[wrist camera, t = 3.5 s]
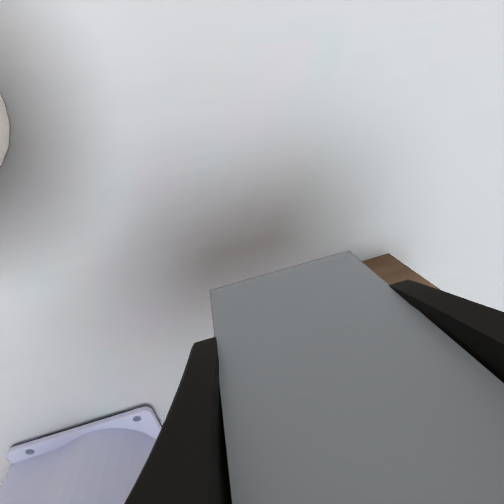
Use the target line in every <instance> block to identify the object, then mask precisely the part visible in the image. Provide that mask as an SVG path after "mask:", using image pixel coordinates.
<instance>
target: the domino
mask: <svg viewBox="0 0 504 504" xmlns="http://www.w3.org/2000/svg"><path fill="white" fill-rule="evenodd" d="M210 299H211V309H212V318H213V327H214V337H216V340H217V349H218V358H219V384H220V393H221V403H222V412H223V422H224V431H225V440H226V450H227V459H228V469H229V478H230V488H231V497H232V504H504V383H503V382H501V381H500V380H499V379H498V378H497V377H496V376H494V375H493V374H492V373H491V372H490V371H489V370H487V369H486V368H485V367H484V366H483V365H482V364H480V363H479V362H478V361H477V360H476V359H475V358H473V357H472V356H471V355H470V354H469V353H468V352H466V351H465V350H464V349H463V348H462V347H461V346H459V345H458V344H457V343H456V342H455V341H454V340H452V339H451V338H450V337H449V336H448V335H447V334H445V333H444V332H443V331H442V330H441V329H440V328H438V327H437V326H436V325H435V324H434V323H433V322H431V321H430V320H429V319H428V318H427V317H426V316H424V315H423V314H422V313H421V312H420V311H419V310H417V309H416V308H414V307H413V306H412V305H410V304H409V303H408V302H407V301H406V300H405V299H403V298H402V297H401V296H400V295H399V294H398V293H396V292H395V291H394V290H393V289H392V288H391V287H389V286H388V284H387V283H386V282H385V281H384V280H382V279H381V278H380V277H379V276H378V275H377V274H375V273H374V272H373V271H372V270H371V269H370V268H368V267H367V266H366V265H365V264H364V263H363V262H361V261H360V260H359V259H358V258H357V257H356V256H354V255H353V254H352V253H351V252H350V251H349V250H348V251H345V252H341V253H338V254H334V255H331V256H327V257H324V258H320V259H317V260H313V261H310V262H306V263H303V264H299V265H296V266H292V267H289V268H286V269H282V270H279V271H275V272H272V273H268V274H265V275H261V276H258V277H254V278H251V279H247V280H244V281H240V282H237V283H233V284H230V285H226V286H223V287H219V288H216V289H212V290H210Z"/></svg>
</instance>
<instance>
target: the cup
mask: <svg viewBox="0 0 504 504" xmlns="http://www.w3.org/2000/svg"><path fill="white" fill-rule="evenodd" d="M9 135H10V124H9V120H8V115H7V111H6V106H5V103H4V101H3V99H2V97H1V95H0V166H1V165H2V163H3V160H4V158H5V155H6V153H7V150H8V147H9Z"/></svg>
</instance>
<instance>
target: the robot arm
mask: <svg viewBox="0 0 504 504" xmlns="http://www.w3.org/2000/svg"><path fill="white" fill-rule="evenodd" d="M388 286H389V287H391V288H392V289H393V290H394V291H395V292H396V293H398V294H399V295H400V296H401V297H402V298H403V299H405V300H406V301H407V302H408V303H409V304H410V305H412V306H413V307H414V308H416V309H417V310H419V311H420V312H421V313H422V314H423V315H424V316H426V317H427V318H428V319H429V320H430V321H431V322H433V323H434V324H435V325H436V326H437V327H438V328H440V329H441V330H442V331H443V332H444V333H445V334H447V335H448V336H449V337H450V338H451V339H452V340H454V341H455V342H456V343H457V344H458V345H459V346H461V347H462V348H463V349H464V350H465V351H466V352H468V353H469V354H470V355H471V356H472V357H473V358H475V359H476V360H477V361H478V362H479V363H480V364H482V365H483V366H484V367H485V368H486V369H487V370H489V371H490V372H491V373H492V374H493V375H494V376H496V377H497V378H498V379H499V380H500V381H501V382H503V383H504V312H502V311H499V310H496V309H493V308H490V307H487V306H484V305H481V304H478V303H475V302H472V301H470V300H467V299H464V298H461V297H458V296H455V295H453V294H450V293H447V292H444V291H441V290H439V289H436V288H433V287H430V286H427V285H424V284H421V283H418V282H415V281H411V280H408V279H407V280H404V281H401V282H397V283H394V284H390V285H388ZM6 458H7V460H8V461H9V462H10V463H11V464H12V465H11V467H10V469H9V471H8V473H7V475H6V477H5V479H4V481H3V483H2V484H1V486H0V504H232V497H231V488H230V478H229V469H228V459H227V450H226V440H225V431H224V422H223V412H222V403H221V393H220V384H219V358H218V349H217V340H216V337H213V338H210V339H206V340H203V341H200V342H196V343H194V345H193V346H192V349H191V352H190V355H189V359H188V362H187V365H186V368H185V371H184V373H183V376H182V379H181V382H180V384H179V387H178V390H177V392H176V395H175V397H174V400H173V402H172V405H171V407H170V410H169V412H168V415H167V417H166V419H165V422H164V424H163V426H162V427H161V425H160V423H159V421H158V419H157V418H156V416H155V414H154V412H153V410H152V409H151V408H150V407H146V406H145V407H141V408H137V409H134V410H131V411H128V412H124V413H121V414H118V415H115V416H112V417H108V418H105V419H102V420H99V421H95V422H92V423H89V424H86V425H82V426H79V427H76V428H73V429H69V430H66V431H63V432H60V433H56V434H53V435H50V436H47V437H43V438H40V439H37V440H34V441H30V442H27V443H24V444H21V445H17V446H14V447H12V448H10V449H9V450H8V452H7V454H6Z"/></svg>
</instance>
